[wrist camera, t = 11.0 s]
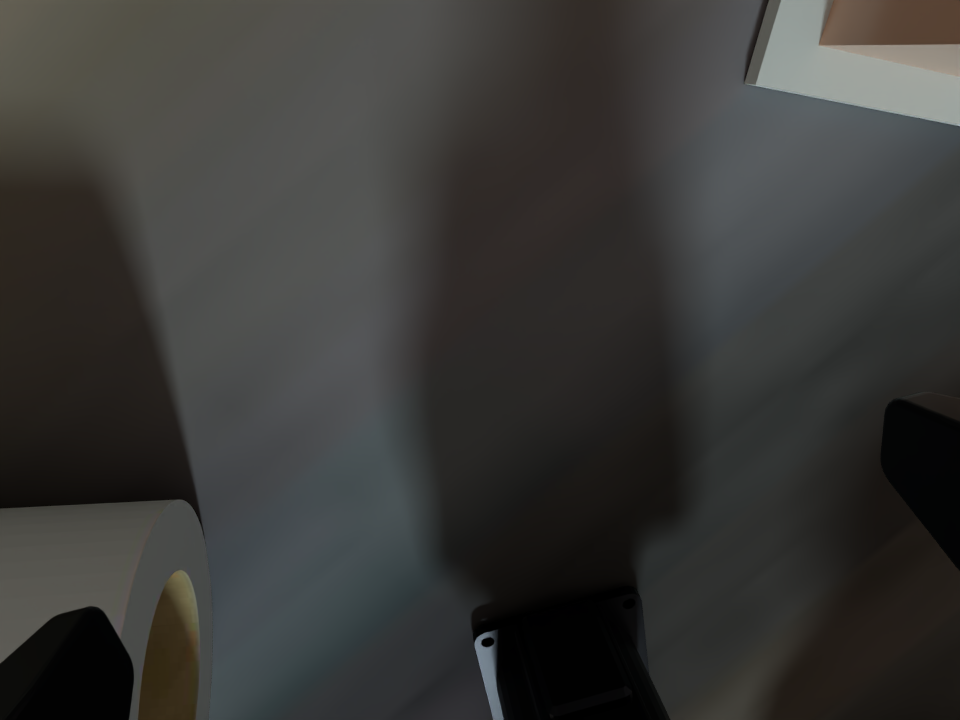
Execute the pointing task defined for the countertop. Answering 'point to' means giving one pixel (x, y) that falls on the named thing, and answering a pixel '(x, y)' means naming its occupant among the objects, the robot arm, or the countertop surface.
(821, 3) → the mat
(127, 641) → the toilet paper
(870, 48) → the brown rectangular block
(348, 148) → the countertop surface
